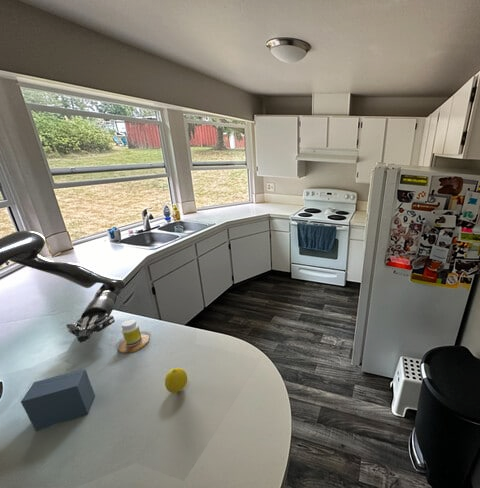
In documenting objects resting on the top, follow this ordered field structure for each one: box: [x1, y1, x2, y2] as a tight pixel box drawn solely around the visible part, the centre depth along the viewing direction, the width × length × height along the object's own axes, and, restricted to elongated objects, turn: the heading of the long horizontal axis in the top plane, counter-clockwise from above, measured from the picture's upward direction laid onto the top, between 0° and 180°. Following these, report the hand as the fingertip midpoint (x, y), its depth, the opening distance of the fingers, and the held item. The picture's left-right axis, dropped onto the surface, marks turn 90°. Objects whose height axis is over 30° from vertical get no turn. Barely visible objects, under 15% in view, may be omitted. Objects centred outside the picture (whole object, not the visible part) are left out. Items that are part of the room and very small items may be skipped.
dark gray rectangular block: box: [20, 368, 96, 432], centre depth 65 cm, size 10×6×10 cm, turn 117°
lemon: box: [164, 367, 188, 394], centre depth 72 cm, size 6×6×8 cm
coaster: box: [117, 333, 150, 354], centre depth 90 cm, size 9×9×1 cm
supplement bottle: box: [121, 318, 142, 346], centre depth 89 cm, size 5×5×8 cm
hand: (82, 339), depth 79 cm, fingers closed
